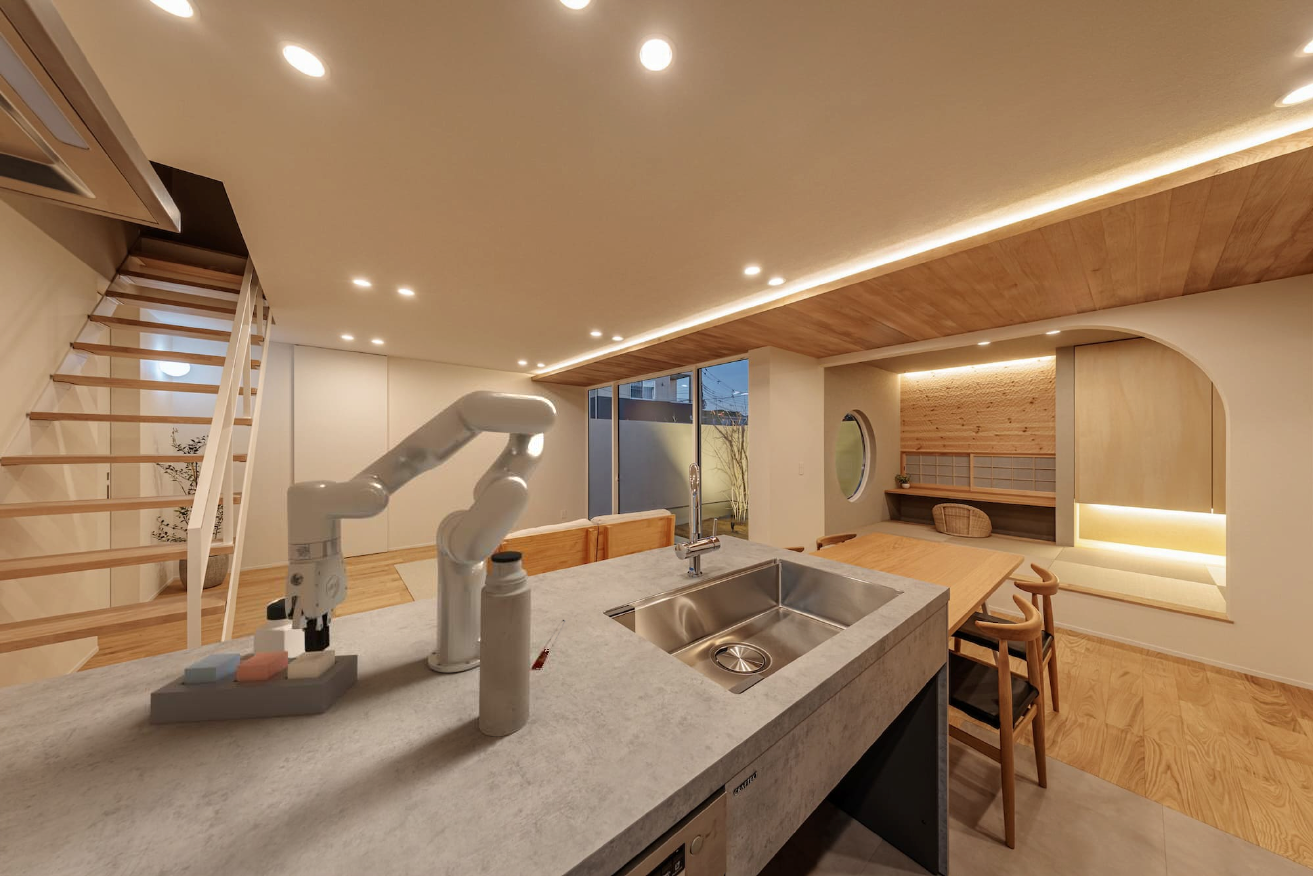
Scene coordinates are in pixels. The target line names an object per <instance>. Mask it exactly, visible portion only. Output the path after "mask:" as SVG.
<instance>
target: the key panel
mask: <svg viewBox="0 0 1313 876" xmlns="http://www.w3.org/2000/svg"><path fill="white" fill-rule="evenodd" d="M298 657H299V656H297V657H296V658H288V664H290V663H291V662H292V661H294V660H295V659H297V658H298ZM358 657H359V655H358V654H343V655H335V664H334V665H333V666H332V667H331V668H330V669H328V670H327V671H326V672H325V673H323V674H322V675H321V676H320V677H319V678H302V679H288V666H287V667H286V668H285V669H283V670H282V671H280V672H279V673H278V674H276V675H275V676H273V677H272V678H271V679H269V680H264V681H245V682H237V670H236V671H235V672H233V673H232V674H230V675H228V676H227V677H225V678H224V679H222V680H220V681H219V682H217V683H207V684H187V685H184V676H185V674H183V675H181V676H180V677H177V678H176V679H173V681H171V682H169V683H166V684H165V685H163V686H161V687H160V688H157V689H156V690H155V691H152V692H150V713H149V714H150V715H149V724H150V725H157V724H172V723H173V724H175V723H189V722H204V721H205V722H207V721H208V722H209V721H221V720H222V721H223V720H237V719H238V720H239V719H254V718H255V719H256V718H269V717H270V718H271V717H272V718H273V717H288V716H302V715H303V716H304V715H318V714H319V715H321V714H324V713H325V712H326V711H327V710H329V709H330V708H331V707H332V706H333V705H334V704H335V703H336V702H337V701H338V700H339V699H340V698H341V697H342V696H343V695H344V694H345V693H346V692H347V691H348V690H349V689H350V688H351V687H352V686H353V685H355V683H356V682H357V681H358V662H359V661H358ZM246 660H247V659H240V664H241V663H243V662H245V661H246Z"/></svg>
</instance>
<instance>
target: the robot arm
mask: <svg viewBox="0 0 1313 876" xmlns="http://www.w3.org/2000/svg"><path fill="white" fill-rule="evenodd" d="M557 417H558V416H557V410H556V407H555V405H554V404H553V403H552V401H551V400H549V399H547V398H545V397H543V396H541V395H536V394H535V395H532V394H524V393H523V394H521V393H510V392H509V393H508V392H500V391H491V390H477V391H476V390H475V391H472V392H470V393H467V394H465V395H462V396H460V398H458V399H456V401H454V402H452V403H451V404H450V405H449V406H447V407H446V408H444V409H443V410H442V411H440V412H439V413H438V414H437V415H435V416H433V417H432V418H431V419H429V420H428V421H427V422H426V423H423V424H422V425H421V426H420V427H418V428H417V429H415V430H414V431H413V432H412V433H410V434H409V435H408V436H406V437H405V438H404V439H403V440H401V441H400V442H399V443H398V444H397V445H395V446H394V447H393V448H391V449H390V450H389V451H387V452H386V453H385V454H384V455H382V456H380V457H379V458H378V459H376V460H375V461H373V463H371V464H370V465H368V466H367V467H365V468H364V469H363V470H361V471H360V472H359V473H357V474H356V475H355V476H353V477H352V478H351V479H349V480H348V481H342V482H336V481H333V480H309V481H301V482H296V483H293V484H291V485H290V486H289V487H287V488H288V489H287V491H286V508H287V509H286V512H287V513H286V516H287V521H286V522H287V559H288V560H287V561H288V566H287V571H286V573H287V574H286V578H285V579H286V581H285V591H284V592H285V594H284V597H285V611H286V617H287V618H288V619H289V620H293V621H292V629H302V631H303V632H304V636H305V652H318V651H323V650H327V649H328V648H329V647H330V643H331V642H330V641H331V640H330V637H331V636H330V624H331V623H332V615H333V611H334V609H335V608H337V607H338V606H339V605H340V604H342V603H344V601H345V600H346V599H347V598H348V579H347V571H346V563H345V562H346V561H345V557H344V554H343V551H342V529H341V528H342V526H341V525H342V519H344V520H345V519H347V520H349V519H350V520H364V519H366V520H367V519H371V518H375V517H376V516H378V515H380V514H382V513H383V512H384V511H385V509H386V508H387V507H388V505H389V503H390V497H391V496H392V495H394V494H395V493H396V492H397V491H399V490H400V489H401V488H402V487H404V486H405V485H406V484H407V483H409V482H410V481H412V480H413V479H415V478H416V477H418V476H420V475H422V474H423V473H426V472H429V471H431V470H434V469H436V468H437V467H440V466H441V465H443V464H444V463H445V462H447V461H448V460H449V459H451V457H453V456H454V455H456V454H457V453H458V452H459V451H461V450H462V449H463V448H464V447H466V446H467V445H468V444H469V443H470V442H471V441H473V440H474V439H475V438H478V436H479V435H480V434H482V433H483V432H486V433H487V432H489V433H490V432H492V433H503V434H509V437H508V441H507V444H506V446H505V447H504V449H503V450H502V452H501V453H500V454H499V456H498V457H497V458H496V460H495V461H494V462H493V463H492V464H491V466H490V467H488V469H487V470H486V472H485V473H484V474H483V475H482V476H481V477H480V478H479V479H478V480H477V482H476V483H475V485H474V488H473V491H472V492H473V493H472V495H473V497H472V498H473V499H474V502H473V503H472V505H470V507H469V508H468V509H458V510H454V511H452V512H450V513H448V514H446V516H444V517H443V519H442V520H441V521H440V523H439V524H438V527H437V530H436V536H435V543H436V544H435V545H436V559H437V560H436V561H437V562H436V563H437V589H436V590H437V597H436V605H437V606H436V648H435V649H434V650H432V652H430V653H429V655H428V657H427V665H428V666H427V667H429V668H430V669H431V670H433V671H435V672H438V673H456V672H457V673H458V672H463V671H467V670H471V669H474V668H476V667H477V666H480V615H481V589H482V588H483V587H484V586H485V580H486V575H487V559H488V558H491V556H492V555H493V554H495V553H494V552H495V551H496V550H498V548H499V547H500V545H501V544H502V543H503V541H504V540H505V539H506V537H507V536H508V535H509V534H510V532H511V530H512V529H513V528H514V526H515V525H516V524H517V522H518V521H519V520H520V519H521V517H522V516H523V514H524V512H525V511H526V509H527V507H528V504H529V502H530V489H529V485H528V484H527V483H528V481H529V480H530V479H531V477H532V475H533V474H534V472H535V471H536V469H538V467H539V466H540V463H541V461H542V458H543V457H544V451H545V433H548V432H549V431H550V430H551V429H552V428H553V427H554V426H555V424H556V421H557Z"/></svg>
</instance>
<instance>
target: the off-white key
mask: <svg viewBox="0 0 1313 876" xmlns="http://www.w3.org/2000/svg"><path fill="white" fill-rule="evenodd" d="M335 656H336V650H335V649H325V650H323V651H318V652H305V653H303V654H301V655H299V656H297V657H298V658H297V657H296V658H297V659H295V660H294V661H292V662H291V663H290V664H288V679H302V678H319V677H320V676H321V675H322V674H323V673H325V672H326V671H327V670H328V669H330V668H331V667H332V666H333V665H334V664H335Z"/></svg>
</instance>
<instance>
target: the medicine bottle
mask: <svg viewBox="0 0 1313 876" xmlns="http://www.w3.org/2000/svg"><path fill="white" fill-rule="evenodd" d="M265 612H266V614H265V615H266V617H265V618H266V623H264V624H261V625H259V626H257V627H255V628H254V630H253V656H254V655H256V654H258V653H259V652H279V651H288V658H297V657H299V656H301V655H302V654H304V653H305V636H304V632H303V631H302V629H292V621H293V620H289V619H288V618H287V617H286V611H285V596H284V597H279V598H277V599H274V600H272V601H271V602H269V603H268V604H267V605H266V611H265Z"/></svg>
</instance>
